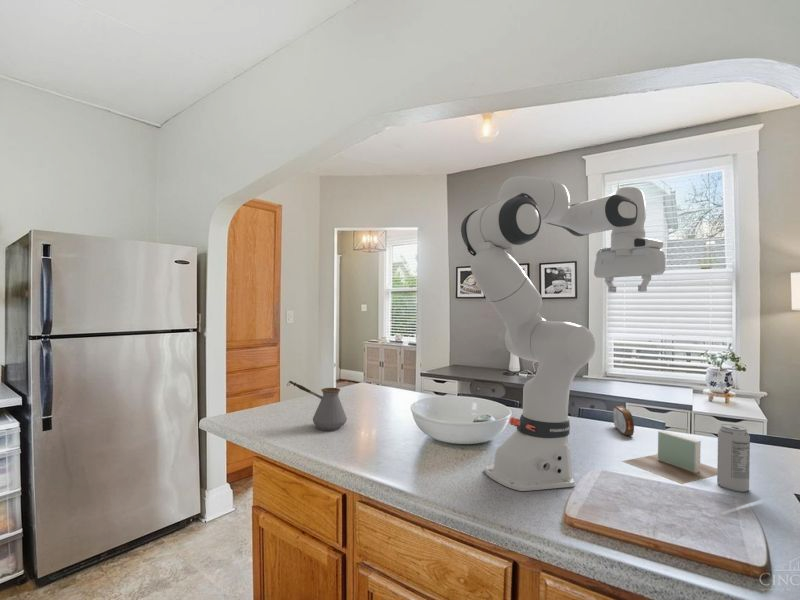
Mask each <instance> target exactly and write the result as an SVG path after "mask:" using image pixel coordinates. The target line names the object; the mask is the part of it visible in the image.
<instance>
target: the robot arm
mask: <svg viewBox="0 0 800 600" xmlns="http://www.w3.org/2000/svg"><path fill="white" fill-rule="evenodd" d="M497 198H498V202H496V203H491V204H488V205H485V206H483V207H481V208H480V209H479V208H478V209H475V210H473V211H471V212H470V213H468V215H466V216H465V217H464V219H463V220H462V222H461V226H460V233H461V238H462V241H463V243H464V245H465V246H466V248H467V252H468V253H469V254H470V255H471V256H473V258H472V260H471V262H470V271H471V274H472V276H473V278H474V280H475V282H476V284H477V285H478V288H479V289H480V291H481V293H482V294H483V295H484V297H485V298H486V299H487V301H488V302H489V303H490V305H491V306H492V307H493V309H494V311H495V312H496V313H497V314H498V316H499V317H500V319H501V320H502V322H503V324H504V326H505V329H506V332H505V333H504V343H505V347H506V349H507V351H508V352H509V353H510V354H512V355H514V356H515V357H518V358H520V359H522V360H525V361H528V362H529V361H530V362H536V363H538V364H537V370H536V372H535V374H534V376H533V377H532V378H530V379H528V380H527V381H525V383H524V385H523V389H522V391H523V393H522V394H523V395H522V413H521V415H520V417H519V418H516V417H514V416H512V417H510V418H509V425H511V426H513V427H515V428H516V430H515V431H514V432H513V433H512V434H511V435H509V437H508V438H507V439H505V440H504V442H503V443H501V444H500V445H499V446H498V447H497V448H496V452H495V454H494V463H491V464H489V465H486V466H485V467H484V473H485V474H486V476H488V477H489V478H490V479H492V480H494V481H495V482H497V483H498V484H500V485H502V486H505V487H506V488H509V489H512V490H516V491H519V492H528V491H540V490H551V489H560V488H572V487H575V485H576V483H575V479H574V477H575V476H574V473H573V468H572V467H573V466H572V456H571V448H570V444H569V443H570V442H569V435H570V434H571V433H570V430H571V426H570V425H571V423H570V419H569V401H570V400H569V399H570V390H571V386H572V382H573V380H574V379H575V376H576V375H577V373H578V372H579V370H580V369H582V367H584V366H585V365H587V364H588V363H589V362H590V361H591V360H592V358H593V356H594V354H595V352H596V341H595V337H594V336H593V334H592V333H593V332H591V330H590V329H589V328H588V327H586V326H583V325H579V324H576V323H575V322H570V321H569V322H568V321H558V320H557V321H554V320H547V319H545V318H543V317H542V315H541V314H540V311H541V308H542V304H543V299H542V295H541V293H540V292H539V290H538V289H537V288H536V286H535V284H533V282H532V280H531V279H530V278H529V276H528V275H527V273H526V272H525V271H524V269H523V268H522V267H521V266H520V264H519V263H518V262H517V261H516V258H515V256H514V253H513V247H514V246H515V247H516V246H521V245H525V244H526V243H528V242H530V241H532V240H534V238H536V237H537V236H538V234H539V232H540V231H541V230H540V229H541V224H547V225H552V226H556V227H559V228H562V229H564V230H566V232H569V233H570V234H571V235H573V236H576V237H584V236H588V235H591V234H596V233H603V232H606V231H607V232H608V231H611V233H610V246H609V247H602V248H600V249H599V250H598V251H596V254H595V262H594V270H593V271H594V272H593V273H594V277H595V278H596V279H597V278H599V279H604V282H605V283H606V285H607V293H617V286H614V283H613V282H614V278H624V277H625V278H626V277H641V280H642V281H641V284H639V285H637V292H638V293H639V292H640V293H642V292H643V293H644V292H645V293H646V292H648V286H649V283H650V282H651V280H652V276H660V275H664V273H665V271H666V255H665V252H664V250H663V247H664V241H662V240H659V239H654V238H650V237H647V236H646V230H645V222H646V214H647V213H646V199H645V194H644V192H643V190H641V189H640V188H638V187H633V186H627V187H626V186H624V187H620V188H618V189H616V190H615V191H614V192H613V193H611V194H609V195H605V196H602V197H598V198H595V199H590V200H586V201H583V202H577V203H572V204H571V205H570V202H571V201H570V200H571V197H570V193H569V191H568V188H567V187H566V186H565V185H564V184H562V183H561V182H559V181H557V180H555V179H551V178H545V177H542V176H541V177H540V176H532V175H516V176H511V177H509V178H508V179H506V180H505V181H504V182H503V183H502V184H501V186H500V189H499V191H498V196H497Z"/></svg>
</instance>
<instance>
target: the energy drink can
mask: <svg viewBox="0 0 800 600" xmlns="http://www.w3.org/2000/svg"><path fill="white" fill-rule="evenodd" d="M720 426H721V427H720V428H719V429H718V431H717V466H716V467H717V475H716V479H717V480H716V481H717V484H718V485H719V486H720V487H722V488H724V489H726V490H729V491H734V492H738V493H746V492H748V491H749V490H750V467H751V466H750V456H751V453H750V450H751V449H750V448H751V443H750V442H751V436H750V434H749V432H748V431H747V428H746V427H745V426H741V425H735V424H731V423H730V424H727V423H722V424H721V425H720Z"/></svg>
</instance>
